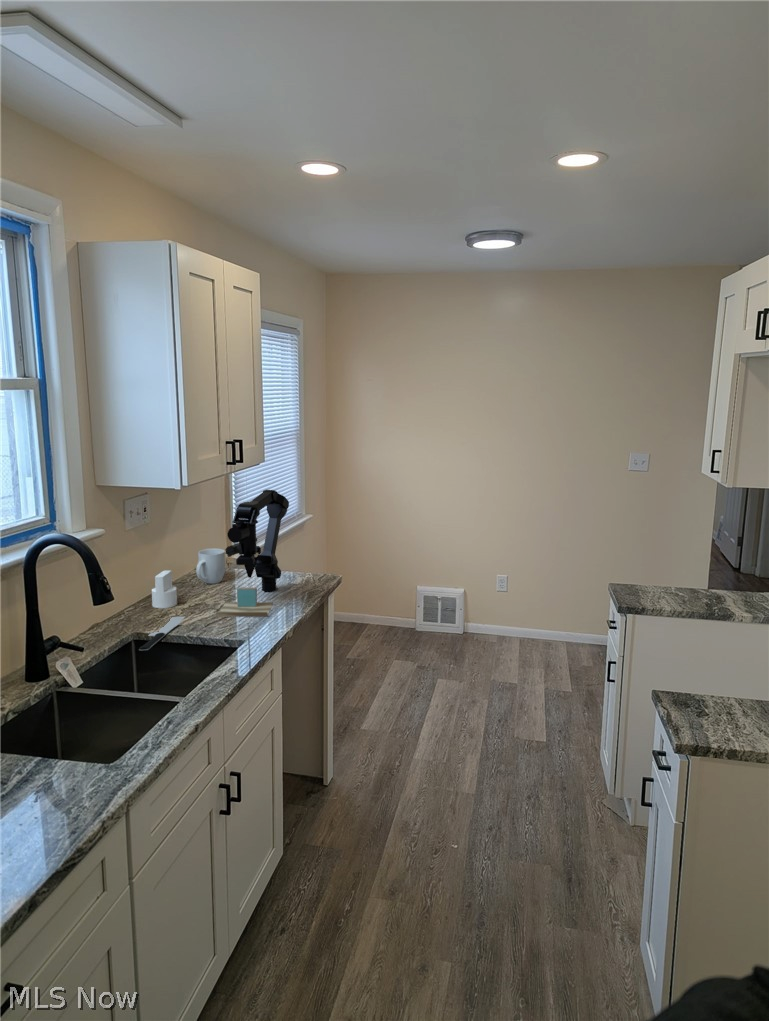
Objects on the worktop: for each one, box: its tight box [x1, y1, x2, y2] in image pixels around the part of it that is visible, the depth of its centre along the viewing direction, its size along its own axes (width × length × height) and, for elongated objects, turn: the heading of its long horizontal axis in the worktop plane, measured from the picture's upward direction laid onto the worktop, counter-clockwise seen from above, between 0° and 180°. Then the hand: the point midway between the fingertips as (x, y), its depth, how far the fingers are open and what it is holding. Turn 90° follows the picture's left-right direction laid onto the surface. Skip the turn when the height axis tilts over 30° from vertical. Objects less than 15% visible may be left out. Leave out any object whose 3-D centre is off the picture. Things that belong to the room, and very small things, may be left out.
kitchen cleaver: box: [138, 616, 186, 652], centre depth 229 cm, size 31×2×10 cm
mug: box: [195, 548, 226, 585], centre depth 285 cm, size 15×11×13 cm
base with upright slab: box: [151, 570, 178, 609], centre depth 257 cm, size 9×9×12 cm
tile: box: [236, 586, 258, 607], centre depth 253 cm, size 2×7×7 cm, turn 91°
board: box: [215, 601, 274, 618], centre depth 250 cm, size 16×18×2 cm
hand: (249, 577), depth 258 cm, fingers closed
